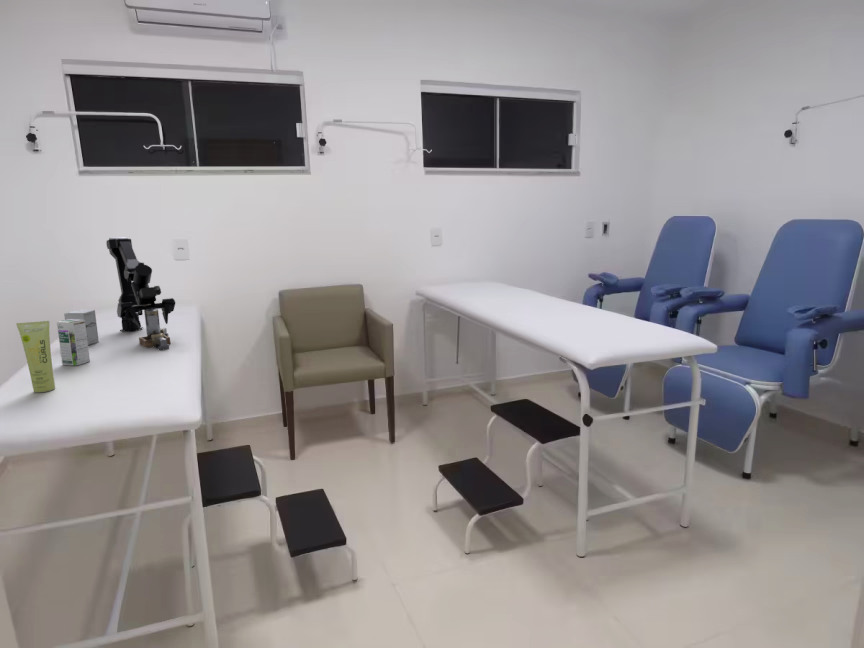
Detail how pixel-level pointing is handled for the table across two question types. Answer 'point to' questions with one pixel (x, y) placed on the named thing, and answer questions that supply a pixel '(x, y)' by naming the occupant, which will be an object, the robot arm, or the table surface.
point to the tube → (38, 354)
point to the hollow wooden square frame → (150, 341)
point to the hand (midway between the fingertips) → (153, 324)
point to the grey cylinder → (152, 322)
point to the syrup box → (73, 342)
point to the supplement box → (86, 323)
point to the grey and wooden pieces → (160, 340)
